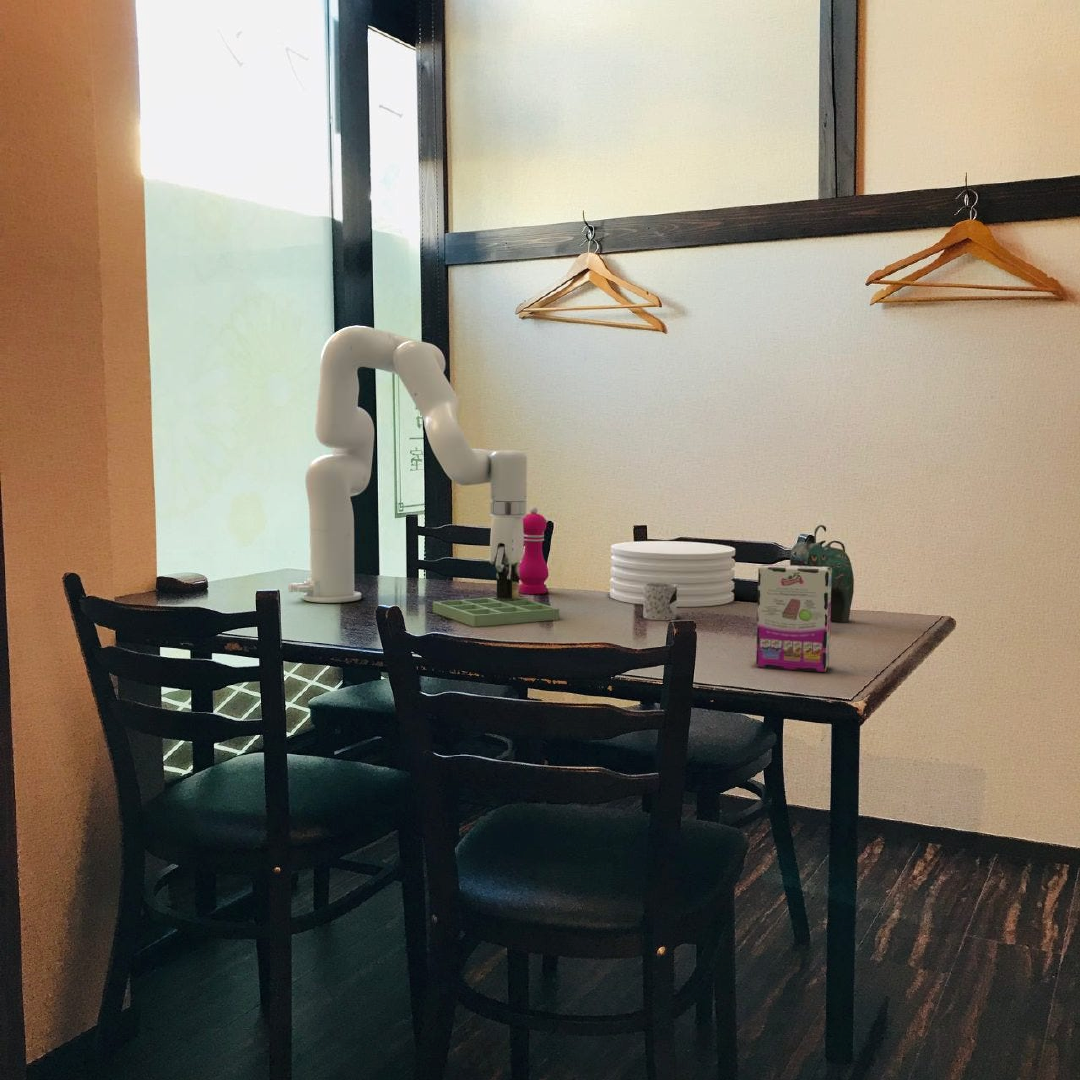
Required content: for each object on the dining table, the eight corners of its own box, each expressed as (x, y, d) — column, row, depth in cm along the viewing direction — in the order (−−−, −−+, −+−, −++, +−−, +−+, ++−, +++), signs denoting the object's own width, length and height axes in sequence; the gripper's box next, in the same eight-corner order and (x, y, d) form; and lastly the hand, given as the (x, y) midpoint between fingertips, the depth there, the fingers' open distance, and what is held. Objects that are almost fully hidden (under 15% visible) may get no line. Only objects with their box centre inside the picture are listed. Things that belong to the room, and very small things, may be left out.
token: (503, 599, 231) (503, 584, 231) (493, 596, 235) (493, 582, 234) (522, 597, 233) (522, 583, 233) (512, 594, 237) (512, 581, 236)
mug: (677, 620, 223) (678, 587, 222) (643, 619, 223) (644, 587, 222) (673, 612, 233) (674, 581, 232) (641, 611, 233) (642, 580, 232)
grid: (474, 626, 213) (474, 615, 213) (432, 612, 229) (432, 601, 229) (559, 619, 222) (559, 608, 222) (513, 606, 239) (513, 595, 238)
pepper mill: (549, 590, 262) (550, 505, 260) (546, 595, 255) (547, 507, 253) (519, 589, 263) (520, 505, 261) (515, 594, 256) (516, 507, 254)
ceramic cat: (808, 634, 210) (812, 528, 208) (778, 629, 214) (782, 525, 212) (858, 621, 224) (862, 522, 222) (829, 617, 228) (833, 520, 226)
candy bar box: (829, 667, 180) (833, 566, 178) (825, 673, 175) (829, 569, 174) (760, 661, 184) (763, 562, 182) (754, 667, 179) (758, 566, 178)
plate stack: (590, 591, 262) (591, 542, 261) (694, 586, 272) (695, 539, 271) (644, 609, 236) (646, 555, 235) (758, 603, 246) (759, 551, 245)
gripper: (502, 506, 241) (502, 590, 243) (478, 511, 225) (478, 601, 227) (536, 507, 239) (535, 591, 241) (514, 512, 223) (513, 603, 225)
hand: (507, 595), depth 234 cm, fingers closed on token, 4 cm apart
